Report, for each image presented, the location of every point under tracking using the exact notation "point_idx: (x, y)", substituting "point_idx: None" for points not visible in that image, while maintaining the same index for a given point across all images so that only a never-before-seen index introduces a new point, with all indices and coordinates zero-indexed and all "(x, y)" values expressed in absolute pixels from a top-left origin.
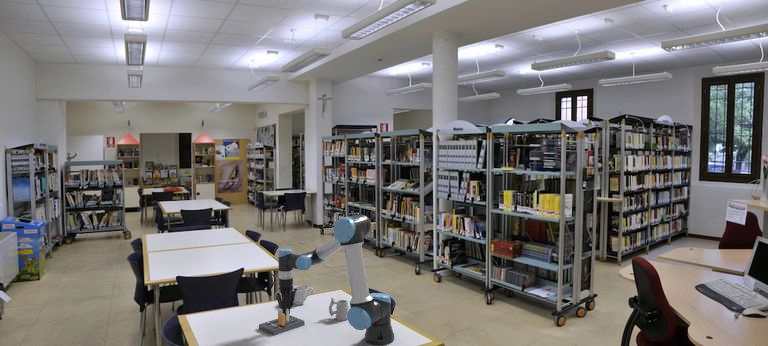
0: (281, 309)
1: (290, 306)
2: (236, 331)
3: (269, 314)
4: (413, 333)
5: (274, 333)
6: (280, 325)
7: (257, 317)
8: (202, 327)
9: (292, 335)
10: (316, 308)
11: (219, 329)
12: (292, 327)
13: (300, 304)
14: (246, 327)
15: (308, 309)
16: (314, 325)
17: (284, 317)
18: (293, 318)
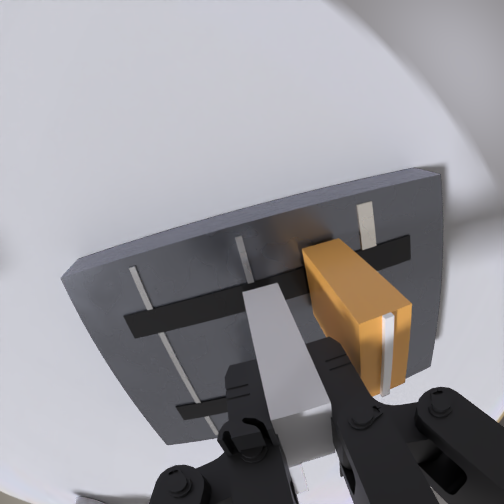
0: (293, 472)
1: (229, 470)
2: (483, 351)
3: None
4: None
5: (416, 172)
6: None
7: (322, 473)
8: (493, 411)
9: (275, 63)
10: (14, 443)
11: (490, 387)
12: (212, 222)
13: (89, 498)
14: (434, 386)
15: (50, 457)
16: (9, 210)
17: (345, 290)
18: (150, 383)
